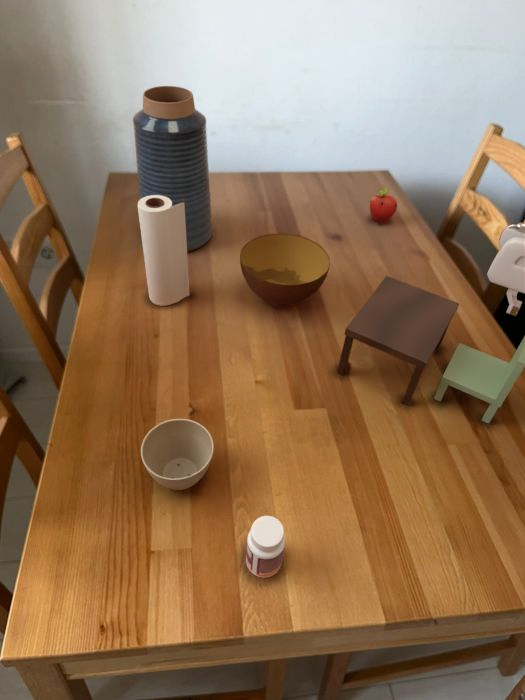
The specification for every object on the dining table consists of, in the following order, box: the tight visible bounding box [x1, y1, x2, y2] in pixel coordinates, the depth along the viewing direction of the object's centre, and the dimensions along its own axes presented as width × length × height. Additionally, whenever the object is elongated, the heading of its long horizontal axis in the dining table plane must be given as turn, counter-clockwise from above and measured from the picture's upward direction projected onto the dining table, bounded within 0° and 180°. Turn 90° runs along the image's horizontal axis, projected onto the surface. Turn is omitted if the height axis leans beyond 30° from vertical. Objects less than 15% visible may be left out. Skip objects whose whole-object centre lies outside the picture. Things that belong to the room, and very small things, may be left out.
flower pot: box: [140, 418, 215, 491], centre depth 73 cm, size 10×10×7 cm
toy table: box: [336, 275, 460, 407], centre depth 92 cm, size 14×18×11 cm
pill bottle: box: [245, 515, 286, 579], centre depth 65 cm, size 5×5×8 cm
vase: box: [132, 85, 213, 252], centre depth 111 cm, size 16×16×32 cm
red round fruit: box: [369, 188, 398, 224], centre depth 128 cm, size 8×7×10 cm
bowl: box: [239, 232, 331, 308], centre depth 104 cm, size 18×18×10 cm
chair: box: [433, 335, 525, 425], centre depth 85 cm, size 10×10×15 cm
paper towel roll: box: [137, 195, 190, 307], centre depth 97 cm, size 7×6×21 cm
